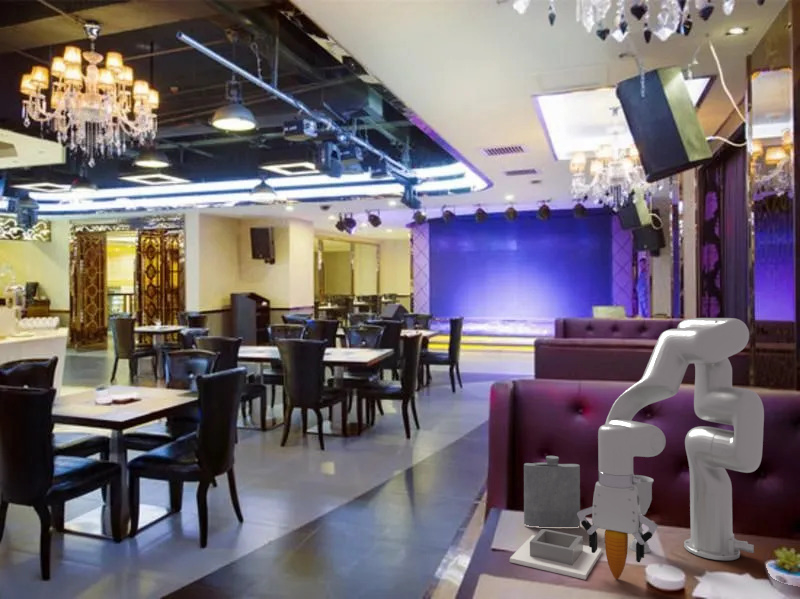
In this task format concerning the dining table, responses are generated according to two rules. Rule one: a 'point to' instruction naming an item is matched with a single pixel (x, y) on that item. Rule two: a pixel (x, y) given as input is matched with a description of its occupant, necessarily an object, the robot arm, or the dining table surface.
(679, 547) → the dining table surface
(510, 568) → the dining table surface
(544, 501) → the hip flask
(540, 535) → the stand
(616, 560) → the carrot
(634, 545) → the chalice
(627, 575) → the dining table surface
